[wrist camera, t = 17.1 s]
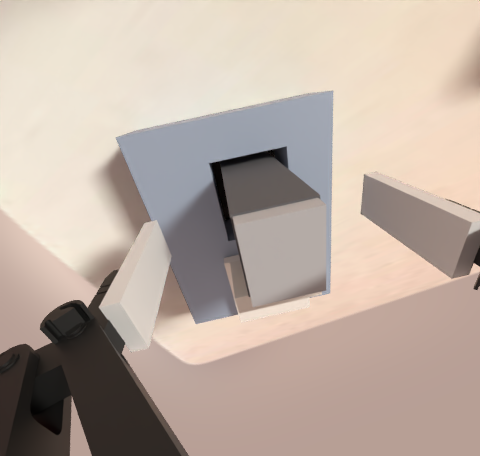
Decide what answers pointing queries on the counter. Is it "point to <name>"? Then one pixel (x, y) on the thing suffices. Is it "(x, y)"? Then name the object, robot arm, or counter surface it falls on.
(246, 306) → the shutter
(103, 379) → the robot arm
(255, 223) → the plug
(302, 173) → the socket board
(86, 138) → the counter surface
